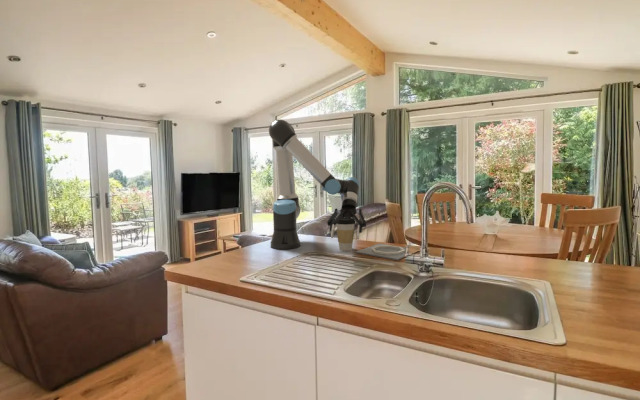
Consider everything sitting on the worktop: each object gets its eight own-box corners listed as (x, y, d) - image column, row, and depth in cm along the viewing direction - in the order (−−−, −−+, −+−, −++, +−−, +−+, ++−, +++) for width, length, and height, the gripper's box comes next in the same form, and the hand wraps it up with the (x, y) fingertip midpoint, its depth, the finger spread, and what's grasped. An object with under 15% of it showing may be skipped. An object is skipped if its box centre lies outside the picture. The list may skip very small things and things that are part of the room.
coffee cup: (359, 248, 174) (359, 218, 172) (349, 252, 165) (349, 221, 164) (341, 246, 179) (341, 216, 177) (331, 249, 170) (331, 219, 169)
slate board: (355, 252, 165) (355, 249, 164) (379, 244, 181) (379, 241, 181) (397, 260, 150) (397, 257, 150) (419, 250, 167) (419, 248, 167)
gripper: (373, 207, 182) (370, 242, 169) (328, 206, 188) (321, 240, 175) (372, 198, 177) (369, 233, 163) (325, 197, 182) (318, 231, 169)
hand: (344, 237), depth 169 cm, fingers open, 12 cm apart
